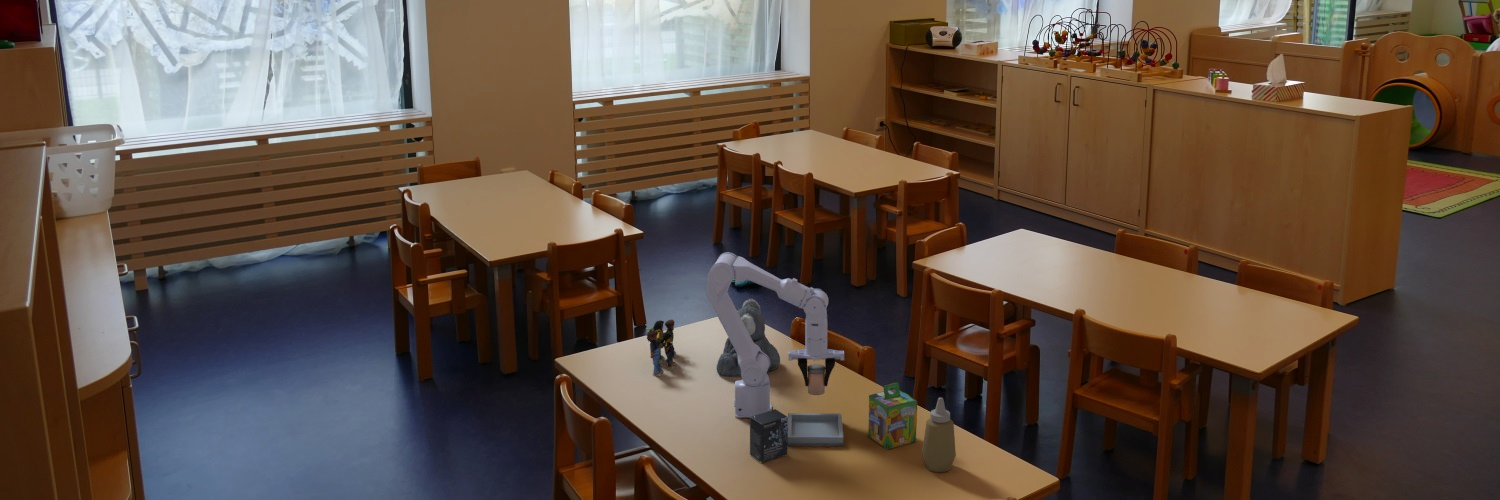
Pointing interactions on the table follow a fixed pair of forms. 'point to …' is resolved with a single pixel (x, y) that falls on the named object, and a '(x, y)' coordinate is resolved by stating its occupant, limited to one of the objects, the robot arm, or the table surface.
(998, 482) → the table surface
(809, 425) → the tray
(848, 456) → the table surface
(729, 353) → the koala plush
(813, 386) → the shaker
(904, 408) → the chalk box
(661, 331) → the doll family
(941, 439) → the squeeze bottle
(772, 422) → the box
